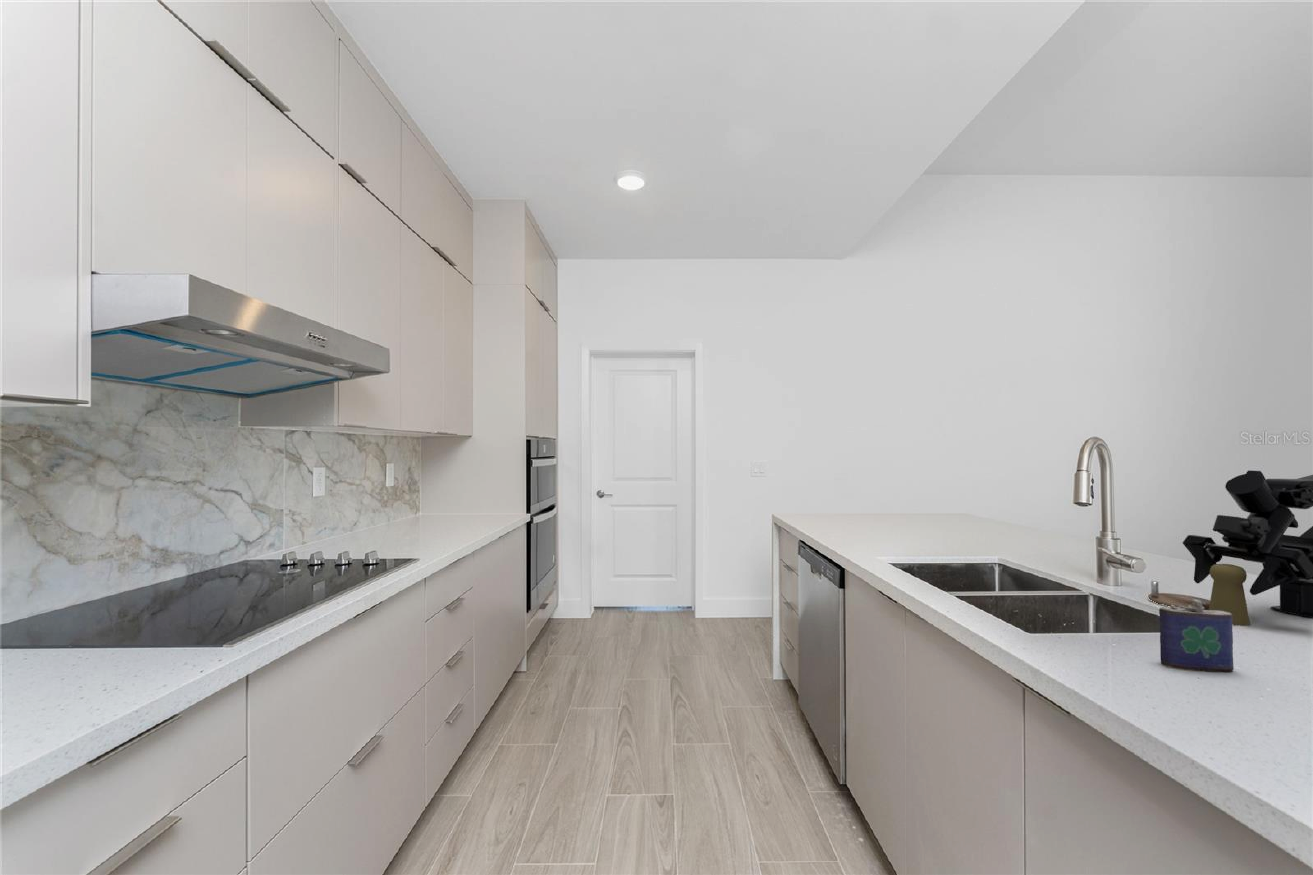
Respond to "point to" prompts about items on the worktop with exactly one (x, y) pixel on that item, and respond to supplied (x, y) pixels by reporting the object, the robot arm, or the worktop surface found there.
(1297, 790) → the worktop surface
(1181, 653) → the flask
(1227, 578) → the cork
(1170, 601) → the walnut plate
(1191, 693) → the worktop surface
